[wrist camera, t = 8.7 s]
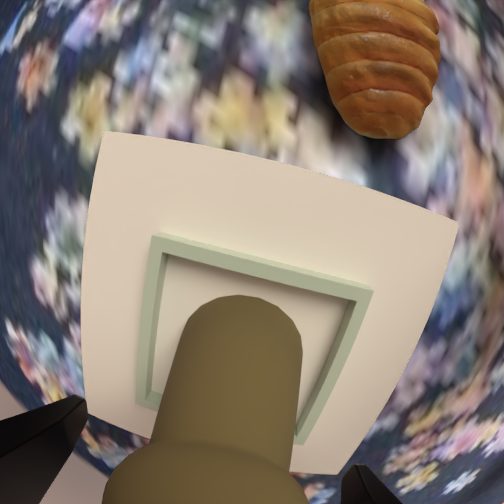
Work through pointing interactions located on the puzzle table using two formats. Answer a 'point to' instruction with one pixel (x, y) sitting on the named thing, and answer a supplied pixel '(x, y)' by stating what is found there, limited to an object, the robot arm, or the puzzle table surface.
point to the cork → (222, 413)
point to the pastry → (377, 61)
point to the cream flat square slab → (253, 280)
